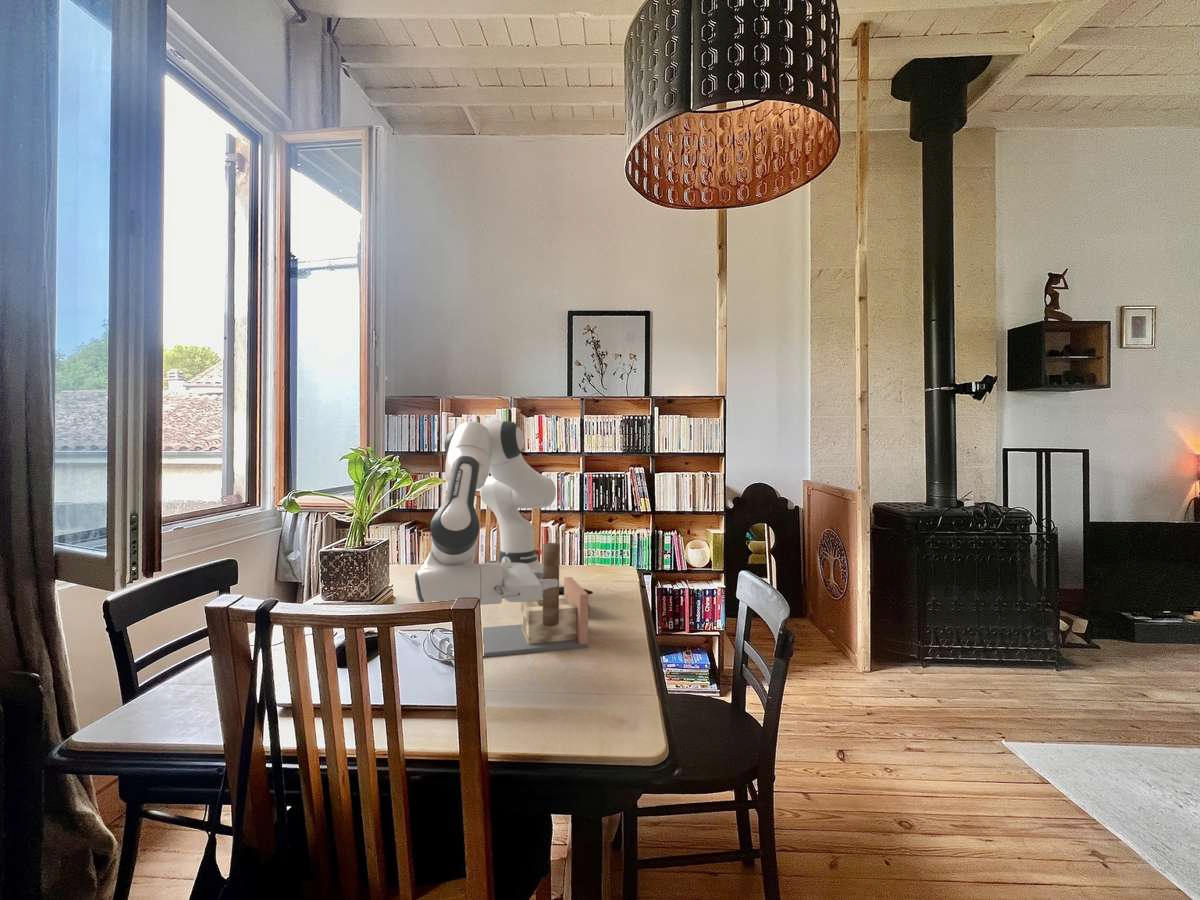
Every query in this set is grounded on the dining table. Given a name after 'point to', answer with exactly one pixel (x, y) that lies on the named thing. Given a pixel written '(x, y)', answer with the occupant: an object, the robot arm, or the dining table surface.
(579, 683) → the dining table surface
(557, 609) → the dowel
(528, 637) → the block
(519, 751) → the dining table surface
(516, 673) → the dining table surface
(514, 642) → the backstop
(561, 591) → the figurine character
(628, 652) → the dining table surface
